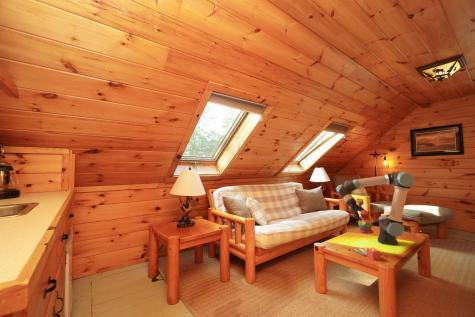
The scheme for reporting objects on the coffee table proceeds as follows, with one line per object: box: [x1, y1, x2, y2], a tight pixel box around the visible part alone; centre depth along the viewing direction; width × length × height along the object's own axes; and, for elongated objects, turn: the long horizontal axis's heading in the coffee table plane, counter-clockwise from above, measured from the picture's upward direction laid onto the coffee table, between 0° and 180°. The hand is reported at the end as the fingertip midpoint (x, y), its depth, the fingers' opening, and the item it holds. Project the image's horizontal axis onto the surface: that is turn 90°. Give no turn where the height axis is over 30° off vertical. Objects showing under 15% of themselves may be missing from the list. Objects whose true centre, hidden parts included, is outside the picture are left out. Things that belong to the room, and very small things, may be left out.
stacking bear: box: [357, 209, 374, 235], centre depth 180 cm, size 11×10×18 cm
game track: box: [351, 247, 382, 257], centre depth 178 cm, size 15×13×1 cm
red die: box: [366, 247, 381, 261], centre depth 167 cm, size 6×6×6 cm
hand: (368, 223), depth 178 cm, fingers closed on stacking bear, 9 cm apart
